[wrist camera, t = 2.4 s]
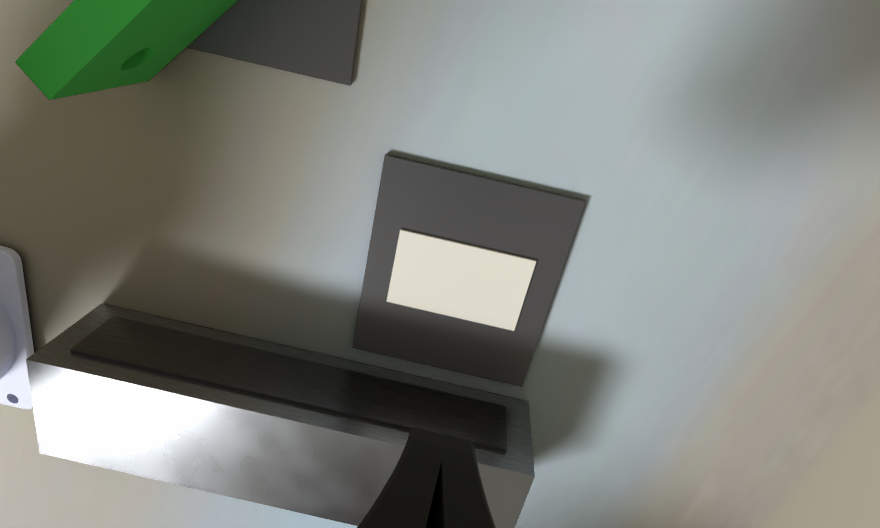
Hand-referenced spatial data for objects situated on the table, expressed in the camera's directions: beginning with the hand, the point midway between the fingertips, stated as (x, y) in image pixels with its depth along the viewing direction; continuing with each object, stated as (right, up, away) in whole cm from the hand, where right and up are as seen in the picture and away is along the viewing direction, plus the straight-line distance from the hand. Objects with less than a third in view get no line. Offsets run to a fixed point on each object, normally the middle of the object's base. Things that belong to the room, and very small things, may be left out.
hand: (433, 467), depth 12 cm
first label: (+1, +4, +8) cm, 9 cm away
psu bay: (-5, -1, +11) cm, 13 cm away
